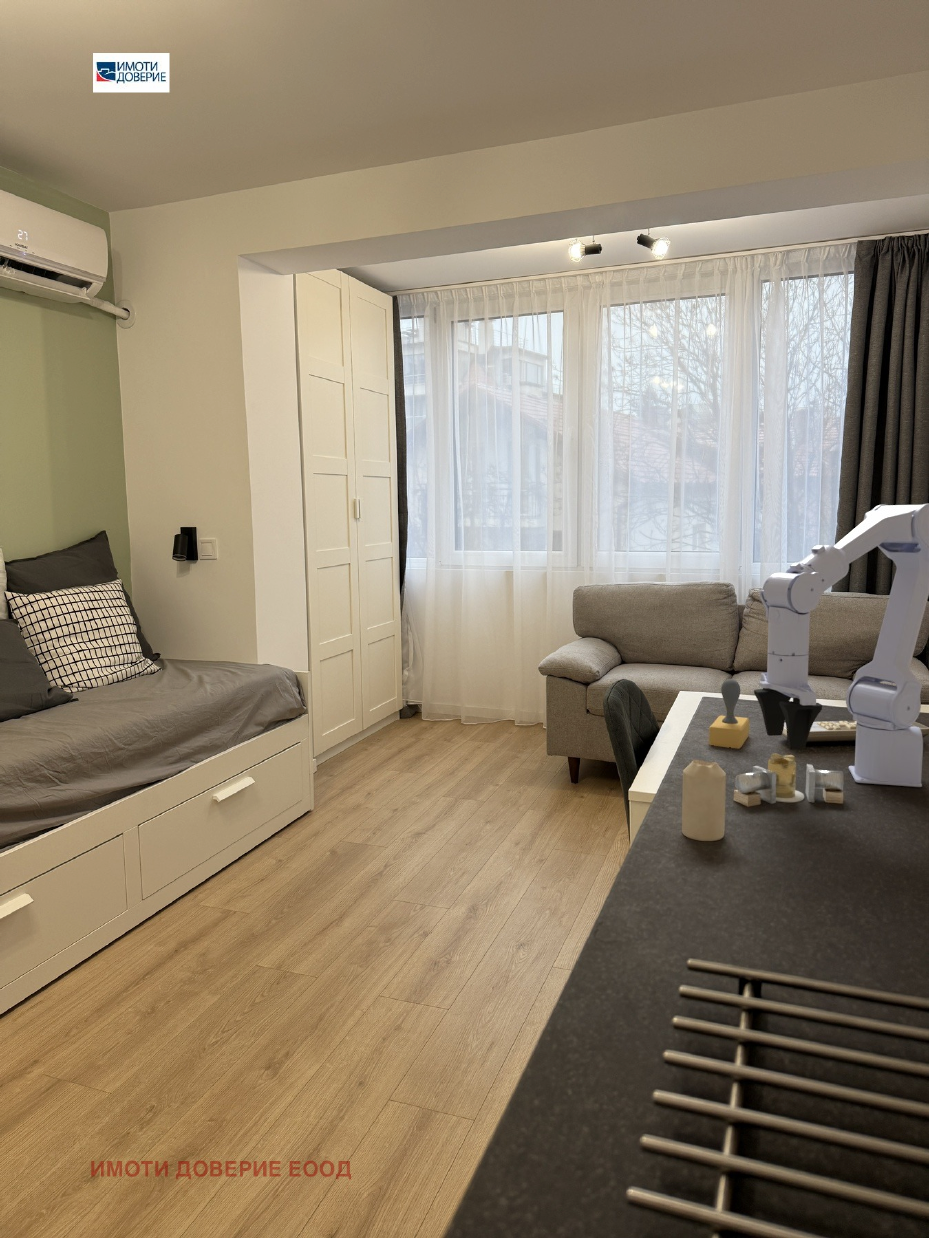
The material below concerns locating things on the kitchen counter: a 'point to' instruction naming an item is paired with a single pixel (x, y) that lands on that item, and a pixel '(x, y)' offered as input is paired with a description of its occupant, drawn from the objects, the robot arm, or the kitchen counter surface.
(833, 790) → the shaft
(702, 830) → the candle
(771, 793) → the shaft
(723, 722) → the rubber stamp
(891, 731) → the robot arm
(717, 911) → the kitchen counter surface
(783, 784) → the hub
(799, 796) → the seat
